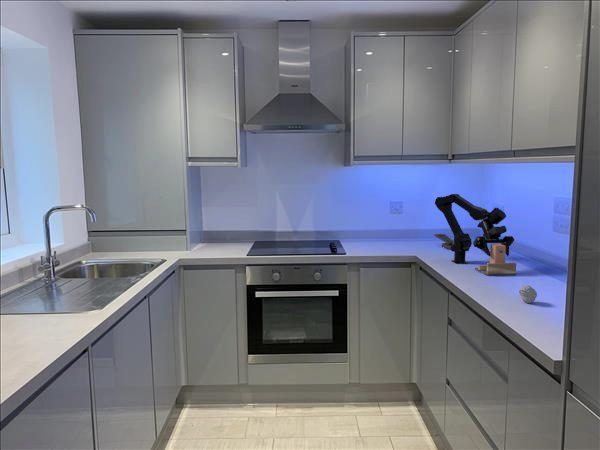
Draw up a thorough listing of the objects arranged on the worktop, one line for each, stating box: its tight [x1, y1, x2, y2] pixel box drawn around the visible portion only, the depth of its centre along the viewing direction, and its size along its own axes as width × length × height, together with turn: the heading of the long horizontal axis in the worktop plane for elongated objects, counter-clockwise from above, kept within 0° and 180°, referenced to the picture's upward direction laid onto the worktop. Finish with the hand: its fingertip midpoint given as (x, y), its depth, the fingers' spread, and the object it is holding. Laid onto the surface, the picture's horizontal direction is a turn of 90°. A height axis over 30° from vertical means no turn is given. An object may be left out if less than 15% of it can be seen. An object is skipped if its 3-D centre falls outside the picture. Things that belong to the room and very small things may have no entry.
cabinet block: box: [489, 243, 506, 263], centre depth 220 cm, size 6×5×13 cm
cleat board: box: [474, 262, 517, 277], centre depth 223 cm, size 13×14×6 cm
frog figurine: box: [518, 284, 538, 304], centre depth 174 cm, size 6×7×7 cm
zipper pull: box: [434, 233, 455, 251], centre depth 294 cm, size 9×7×25 cm
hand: (499, 255), depth 219 cm, fingers open, 9 cm apart
